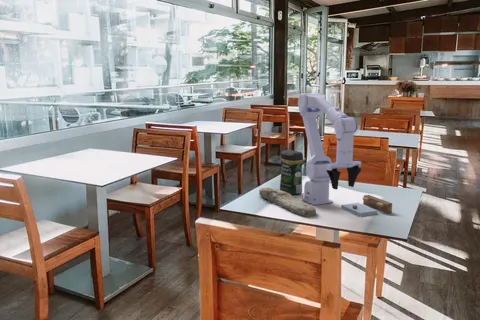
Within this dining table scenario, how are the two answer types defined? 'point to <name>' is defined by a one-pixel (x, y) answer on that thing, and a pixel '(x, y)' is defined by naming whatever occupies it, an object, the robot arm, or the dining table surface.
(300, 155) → the coffee jar
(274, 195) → the long grey stone
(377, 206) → the brown long block
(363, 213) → the door panel
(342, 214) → the dining table surface
